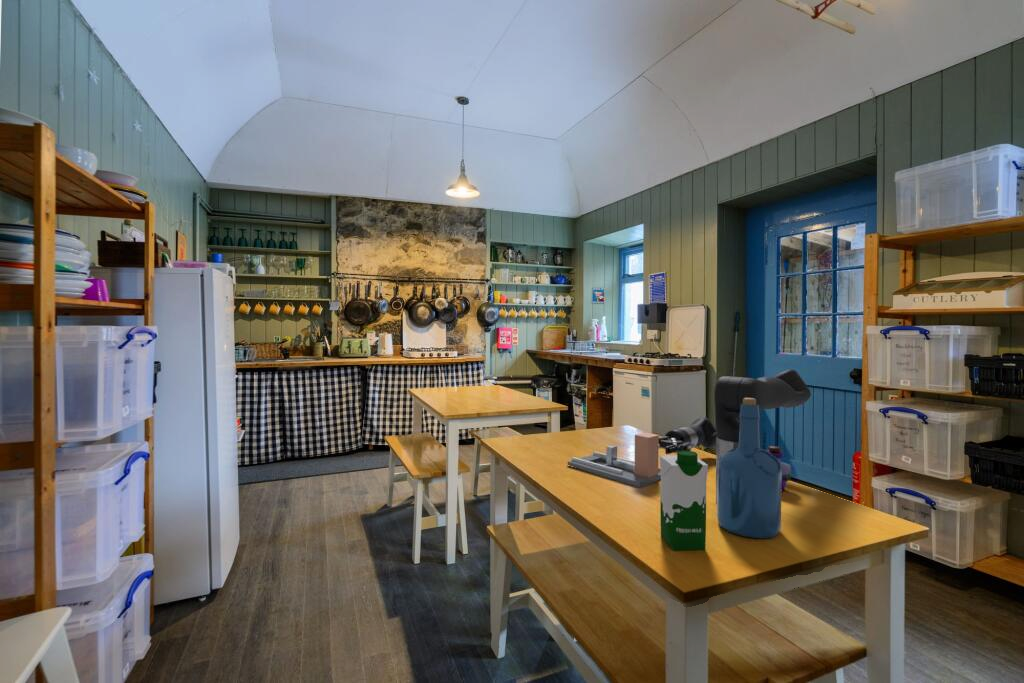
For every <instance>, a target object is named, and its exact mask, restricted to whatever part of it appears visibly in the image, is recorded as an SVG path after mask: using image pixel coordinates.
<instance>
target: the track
mask: <svg viewBox="0 0 1024 683" xmlns="http://www.w3.org/2000/svg"><path fill="white" fill-rule="evenodd" d="M617 459H620V460H624V461H628V462H632V463H635V460H630V459H627V458H623V457H619V456H617ZM568 465H570V466H573V467H576V468H579V469H582V470H585V471H584V472H586V471H588V472H587V473H589V472H591V473H590V474H592V473H594V474H593V475H596V474H597V476H599V475H600V476H599V477H602V476H603V477H602V478H606V479H609V478H610V479H609V480H612V479H613V480H612V481H616V482H619V483H622V482H623V483H622V484H626V485H629V486H632V485H633V486H632V487H636V488H642V487H644V486H647V485H650V484H653V483H655V482H657V481H661V480H660V479H661V469H660V467H658V475H656V476H653V477H650V478H647V477H643V476H640V475H636V474H635V472H633V471H632V470H628V469H624V468H621V467H617V466H613V465H612V466H611V465H607V464H606V453H604V452H598V451H593V452H592V454H591V455H587V456H583V457H580V458H579V457H575V456H573V457H571V460H569V461H567V466H568ZM576 468H575V469H576ZM579 469H578V470H579ZM582 470H581V471H582Z"/></svg>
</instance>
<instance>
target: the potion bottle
mask: <svg viewBox="0 0 1024 683" xmlns="http://www.w3.org/2000/svg"><path fill="white" fill-rule="evenodd" d="M765 450H766V451H768V452H769V453H771V454H772V455H773V456H775V457H776V458H777V459H778V461H779V462H780V464H781V470H782V488H781V490H786V489H785V488H786V485H787V482H790V480H791V473H792V472H791V471H792V466H791V465H790V464H789V463H786V462H782V461H781V458H784V452H783V451H781V450H782V448H781V446H776V445H775V446H774V445H769V446H768V449H765Z"/></svg>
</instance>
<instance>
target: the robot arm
mask: <svg viewBox="0 0 1024 683" xmlns="http://www.w3.org/2000/svg"><path fill="white" fill-rule="evenodd" d="M713 392H714V393H713V394H714V395H713V396H714V397H713V398H714V400H713V401H714V419H715V420H714V423H715V424H713V422H712V421H711V420H710V419H709V418H708V417H703V416H702V417H698V418H697V419H695V420H694V421H693V422H692V423H691V424H690V425H689V426H685V427H678V428H675V429H672V430H669V431H667V432H666V433H665V435H663V436H660V437H659V444H658V450H659V449H661V450H662V449H663V450H665V455H671V454H677V452H678V451H692V449H693V448H696V447H699V446H702V447H703V448H705V449H706V448H708V449H711V448H713V447H715V446H716V448H715V449H716V450H715V452H716V453H715V454H716V455H715V458H716V459H715V503H716V504H717V474H718V460H719V458H720V457H721V455H723V454H724V453H726V452H727V451H730V450H732V449H735V448H736V447H737V446H738V442H739V424H740V418H739V412H740V405H741V404H742V403H743V399H744V398H754V399H756V404H757V405H758V406H759V412H761V411H762V410H773V409H774V410H775V409H778V408H785V409H788V408H789V409H790V408H796V407H798V406H801V405H803V404H805V403H806V402H807V401H809V400H810V398H811V396H812V392H811V390H810V388H809V387H808V385H807V384H806V382H805V381H804V380H803V378H802V377H801V375H799V372H798V371H796V370H795V369H787V370H784V371H782V372H780V373H777V374H776V375H774V376H762V377H757V378H753V377H743V376H727V375H725V376H720V377H719V378H718V379H717V380H716V382H715V386H714V391H713ZM714 425H715V426H714Z"/></svg>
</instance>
